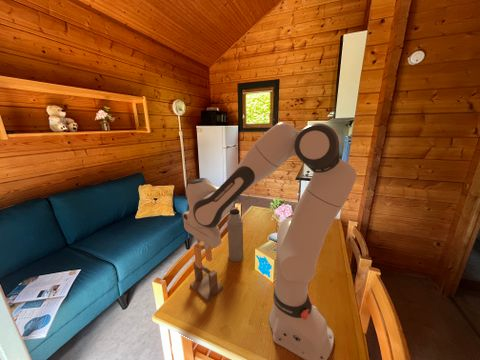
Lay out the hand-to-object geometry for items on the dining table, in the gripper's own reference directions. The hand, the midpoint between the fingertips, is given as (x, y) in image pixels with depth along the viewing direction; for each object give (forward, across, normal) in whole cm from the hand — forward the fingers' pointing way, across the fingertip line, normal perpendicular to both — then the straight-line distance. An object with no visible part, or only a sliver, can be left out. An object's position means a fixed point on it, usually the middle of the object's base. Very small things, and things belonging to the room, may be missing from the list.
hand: (202, 246), depth 84 cm
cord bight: (+8, 0, 0) cm, 8 cm away
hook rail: (+22, 0, 0) cm, 22 cm away
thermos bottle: (+22, +4, -24) cm, 33 cm away
